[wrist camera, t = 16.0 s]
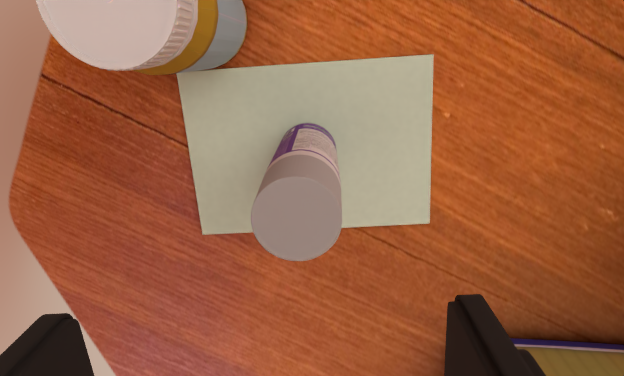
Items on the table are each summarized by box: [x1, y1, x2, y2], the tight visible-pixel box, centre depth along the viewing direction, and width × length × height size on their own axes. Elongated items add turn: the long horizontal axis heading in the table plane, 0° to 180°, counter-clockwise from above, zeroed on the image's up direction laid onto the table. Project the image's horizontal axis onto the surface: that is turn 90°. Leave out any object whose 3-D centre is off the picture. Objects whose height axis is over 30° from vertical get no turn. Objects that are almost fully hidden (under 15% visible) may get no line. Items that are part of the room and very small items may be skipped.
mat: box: [177, 54, 433, 235], centre depth 34 cm, size 20×14×1 cm
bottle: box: [36, 0, 248, 75], centre depth 25 cm, size 7×7×15 cm
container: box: [251, 123, 342, 261], centre depth 27 cm, size 5×5×15 cm
